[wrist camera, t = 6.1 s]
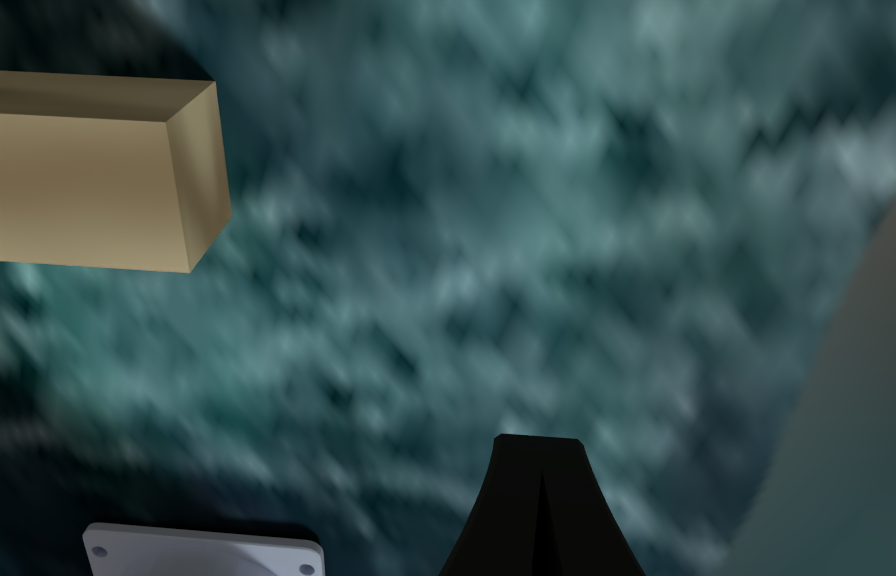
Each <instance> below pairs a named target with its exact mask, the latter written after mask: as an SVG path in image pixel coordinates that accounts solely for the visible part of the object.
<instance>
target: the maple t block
mask: <svg viewBox="0 0 896 576" xmlns="http://www.w3.org/2000/svg"><path fill="white" fill-rule="evenodd" d="M231 217H232V212H231V204H230V196H229V188H228V180H227V172H226V164H225V156H224V148H223V140H222V132H221V124H220V116H219V108H218V99H217V91H216V83H215V81H200V80H180V79H160V78H140V77H119V76H99V75H79V74H59V73H39V72H18V71H0V261H10V262H26V263H41V264H57V265H72V266H88V267H103V268H119V269H134V270H150V271H165V272H181V273H190V272H191V271H192V269H193V268H194V267H195V265H196V264H197V263H198V261H199V260H200V259H201V257H202V256H203V255H204V253H205V252H206V251H207V249H208V248H209V247H210V245H211V244H212V243H213V241H214V240H215V239H216V237H217V236H218V235H219V233H220V232H221V231H222V229H223V228H224V227H225V225H226V224H227V223H228V221H229V220H230V219H231Z"/></svg>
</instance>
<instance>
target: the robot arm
mask: <svg viewBox="0 0 896 576" xmlns="http://www.w3.org/2000/svg"><path fill="white" fill-rule="evenodd" d="M83 542H84V545H85V548H86V552H87V555H88V559H89V562H90V565H91V569H92V572H93V575H94V576H325V568H324V555H323V550H322V548H321V547H320V546H319V545H318V544H317V543H315V542H313V541H310V540H301V539H289V538H277V537H265V536H253V535H242V534H230V533H218V532H206V531H194V530H182V529H170V528H158V527H146V526H135V525H123V524H111V523H92V524H90V525H89V526H88V527H87V529H86V530H85V532H84V534H83ZM306 564H307V565H306ZM309 565H311V566H309ZM438 576H646V575H645V573H644V571H643V570H642V568H641V566H640V565H639V563H638V561H637V559H636V558H635V556H634V554H633V552H632V551H631V549H630V547H629V545H628V543H627V541H626V539H625V538H624V536H623V534H622V532H621V530H620V528H619V526H618V524H617V523H616V521H615V519H614V517H613V515H612V513H611V511H610V509H609V507H608V505H607V503H606V500H605V498H604V496H603V494H602V492H601V489H600V487H599V485H598V483H597V480H596V478H595V476H594V473H593V471H592V468H591V466H590V463H589V460H588V457H587V455H586V451H585V448H584V445H583V444H582V443H581V442H580V441H579V440H578V439H571V438H557V437H543V436H529V435H515V434H500V435H499V436H497V437H496V438H494V444H493V451H492V455H491V459H490V463H489V467H488V470H487V473H486V476H485V479H484V482H483V484H482V487H481V490H480V492H479V495H478V497H477V499H476V502H475V504H474V506H473V509H472V511H471V513H470V515H469V518H468V520H467V522H466V524H465V527H464V529H463V531H462V533H461V535H460V537H459V539H458V540H457V542H456V544H455V546H454V548H453V550H452V552H451V553H450V555H449V557H448V559H447V561H446V563H445V565H444V567H443V568H442V570H441V572H440V574H439V575H438Z"/></svg>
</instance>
